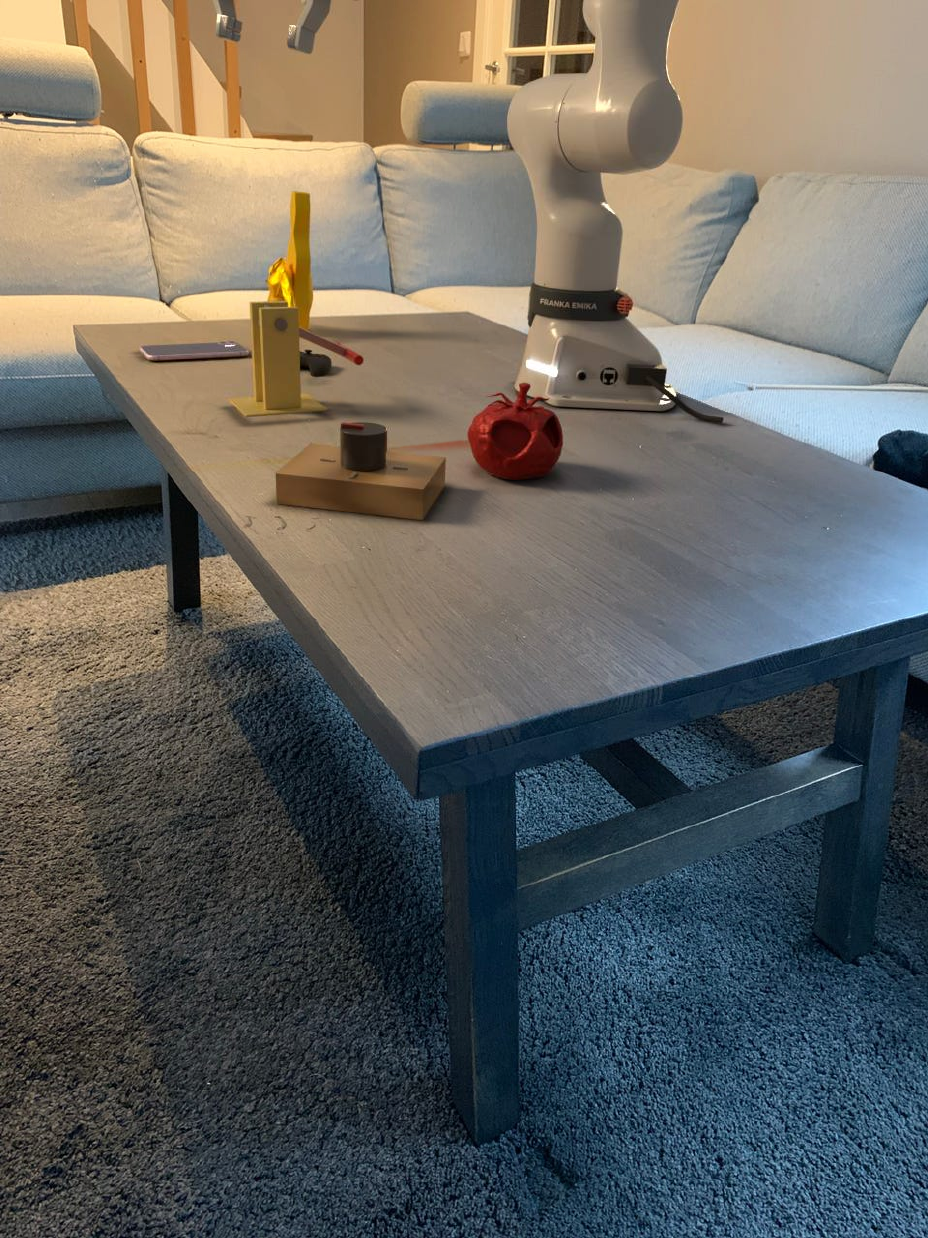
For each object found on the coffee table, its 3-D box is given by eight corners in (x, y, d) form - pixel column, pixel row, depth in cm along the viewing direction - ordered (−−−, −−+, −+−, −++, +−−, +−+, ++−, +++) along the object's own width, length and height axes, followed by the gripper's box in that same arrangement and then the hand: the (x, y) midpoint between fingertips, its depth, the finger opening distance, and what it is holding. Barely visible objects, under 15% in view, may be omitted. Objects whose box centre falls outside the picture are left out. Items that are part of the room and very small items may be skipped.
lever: (336, 357, 122) (344, 339, 122) (359, 371, 116) (367, 352, 116) (250, 319, 116) (257, 300, 115) (269, 331, 109) (277, 311, 109)
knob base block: (444, 485, 97) (445, 455, 95) (422, 520, 88) (423, 487, 87) (311, 471, 99) (310, 441, 97) (276, 503, 90) (275, 471, 89)
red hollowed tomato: (451, 460, 104) (455, 374, 100) (534, 453, 108) (541, 370, 104) (490, 490, 96) (496, 397, 92) (577, 481, 100) (587, 392, 96)
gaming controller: (256, 368, 134) (271, 333, 136) (272, 390, 139) (287, 355, 141) (317, 377, 131) (332, 341, 133) (331, 399, 136) (345, 364, 138)
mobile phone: (137, 344, 144) (237, 339, 150) (138, 350, 145) (237, 346, 151) (147, 354, 138) (250, 349, 144) (148, 361, 139) (250, 356, 145)
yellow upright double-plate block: (306, 402, 123) (304, 298, 117) (327, 418, 117) (326, 309, 111) (229, 407, 119) (222, 300, 113) (246, 424, 113) (240, 311, 107)
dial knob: (391, 459, 94) (392, 421, 92) (380, 473, 90) (380, 433, 88) (348, 455, 94) (348, 416, 93) (334, 468, 90) (334, 428, 89)
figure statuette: (257, 323, 170) (251, 186, 160) (301, 322, 173) (297, 187, 163) (280, 343, 155) (275, 194, 145) (327, 341, 158) (325, 195, 148)
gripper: (402, -117, 80) (370, 69, 85) (235, -124, 89) (215, 43, 94) (352, -153, 74) (320, 48, 80) (180, -156, 84) (162, 23, 89)
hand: (262, 45), depth 87 cm, fingers open, 8 cm apart
